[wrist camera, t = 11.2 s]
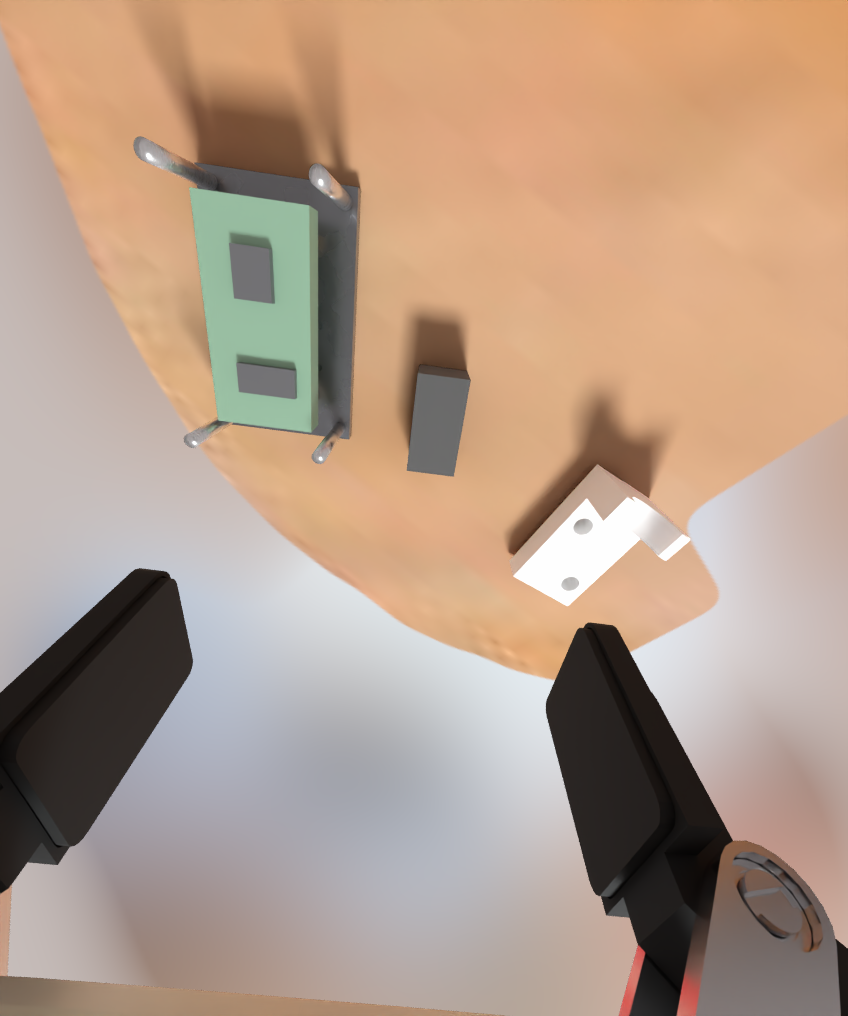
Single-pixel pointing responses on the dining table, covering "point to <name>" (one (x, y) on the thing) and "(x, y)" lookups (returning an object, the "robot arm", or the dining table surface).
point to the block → (437, 419)
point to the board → (260, 307)
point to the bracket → (592, 536)
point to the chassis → (334, 276)
